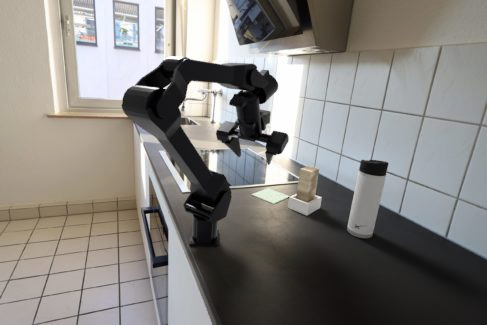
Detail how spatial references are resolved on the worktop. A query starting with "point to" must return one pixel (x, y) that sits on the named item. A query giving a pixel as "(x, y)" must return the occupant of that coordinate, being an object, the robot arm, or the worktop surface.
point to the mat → (270, 196)
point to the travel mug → (367, 198)
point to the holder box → (304, 205)
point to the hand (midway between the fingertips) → (254, 159)
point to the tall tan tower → (307, 184)
